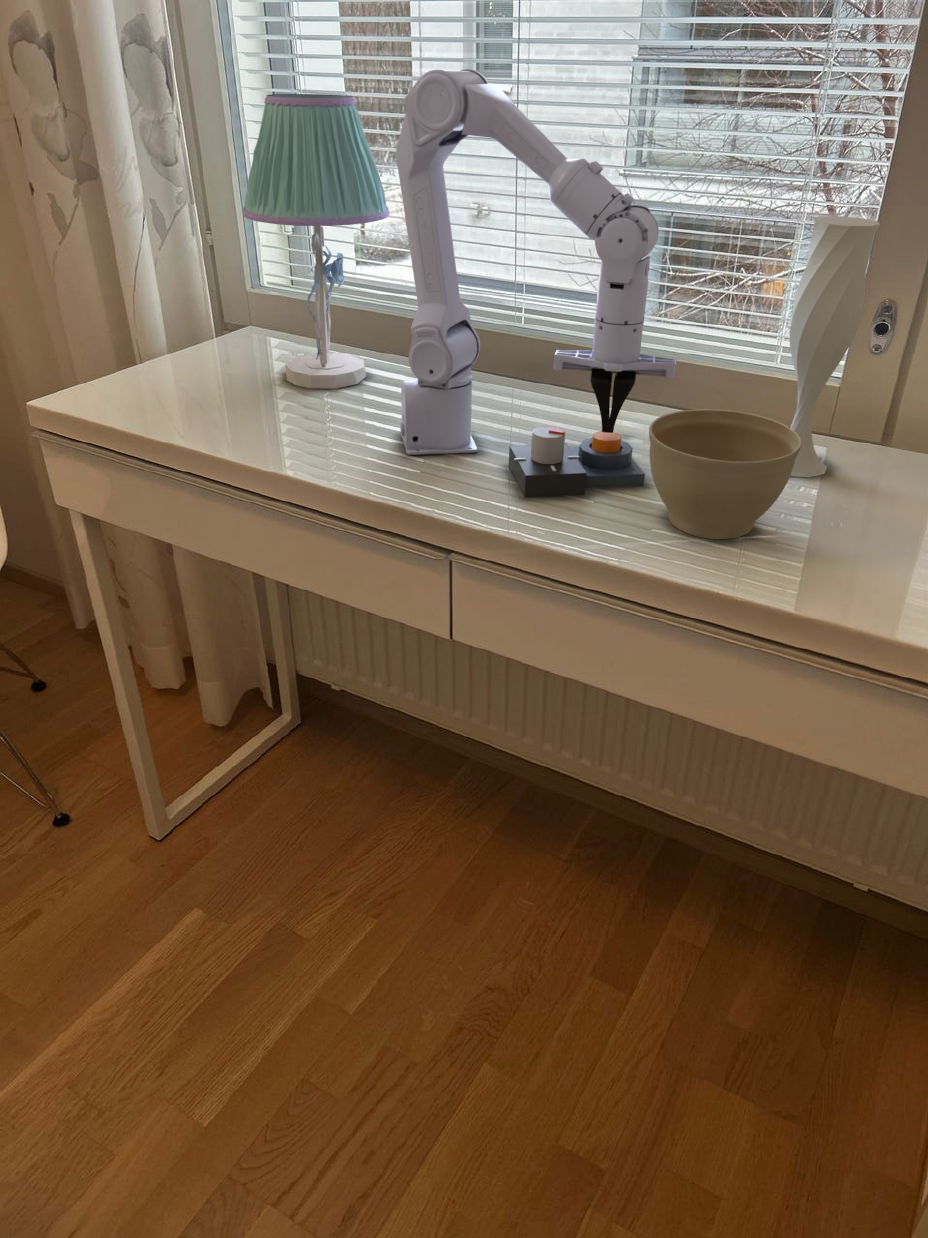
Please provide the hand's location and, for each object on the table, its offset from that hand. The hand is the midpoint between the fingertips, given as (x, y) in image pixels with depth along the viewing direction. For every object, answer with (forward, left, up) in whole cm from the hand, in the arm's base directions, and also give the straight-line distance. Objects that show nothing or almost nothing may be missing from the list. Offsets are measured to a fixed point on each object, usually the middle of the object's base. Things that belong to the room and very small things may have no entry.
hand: (607, 429), depth 117 cm
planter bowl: (+8, -16, -6) cm, 19 cm away
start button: (0, 0, -2) cm, 2 cm away
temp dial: (-8, -2, -3) cm, 9 cm away
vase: (+26, 0, -6) cm, 27 cm away
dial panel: (-8, -2, -6) cm, 10 cm away
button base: (0, 0, -6) cm, 6 cm away
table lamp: (-34, +44, -6) cm, 56 cm away
